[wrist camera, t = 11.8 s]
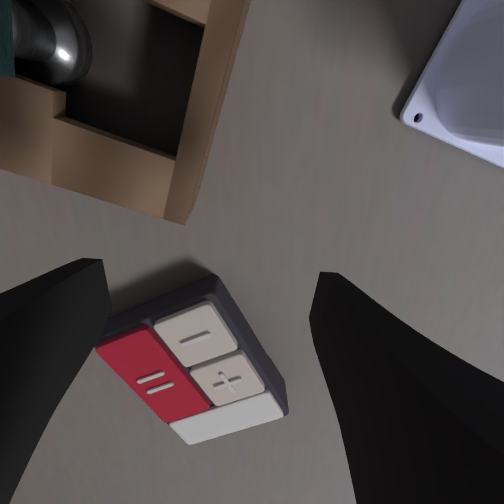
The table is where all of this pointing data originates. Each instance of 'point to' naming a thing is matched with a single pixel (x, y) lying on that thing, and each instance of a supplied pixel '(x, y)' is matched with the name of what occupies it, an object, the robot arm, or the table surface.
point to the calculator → (195, 362)
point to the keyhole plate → (118, 148)
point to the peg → (43, 41)
